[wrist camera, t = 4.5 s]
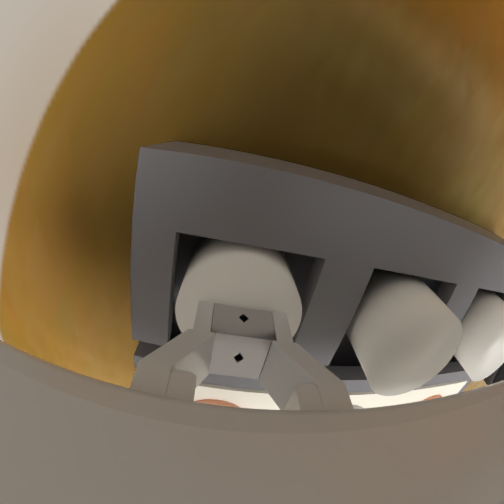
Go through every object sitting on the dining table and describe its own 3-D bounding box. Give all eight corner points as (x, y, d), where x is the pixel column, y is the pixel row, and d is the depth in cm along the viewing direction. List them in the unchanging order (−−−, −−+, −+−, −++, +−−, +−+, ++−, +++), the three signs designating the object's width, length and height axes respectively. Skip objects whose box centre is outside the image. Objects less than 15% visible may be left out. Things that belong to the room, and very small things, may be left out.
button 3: (460, 277, 12) (503, 317, 9) (495, 285, 13) (532, 318, 9) (426, 340, 14) (457, 385, 10) (465, 339, 14) (494, 376, 11)
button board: (175, 140, 12) (134, 148, 7) (494, 233, 15) (543, 266, 10) (157, 377, 18) (143, 438, 13) (407, 389, 21) (429, 433, 16)
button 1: (198, 211, 12) (180, 248, 8) (296, 230, 13) (318, 272, 9) (187, 296, 14) (172, 351, 10) (272, 309, 14) (282, 366, 11)
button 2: (360, 255, 11) (405, 309, 8) (431, 270, 12) (478, 316, 8) (327, 335, 13) (350, 399, 9) (395, 339, 14) (426, 391, 10)
